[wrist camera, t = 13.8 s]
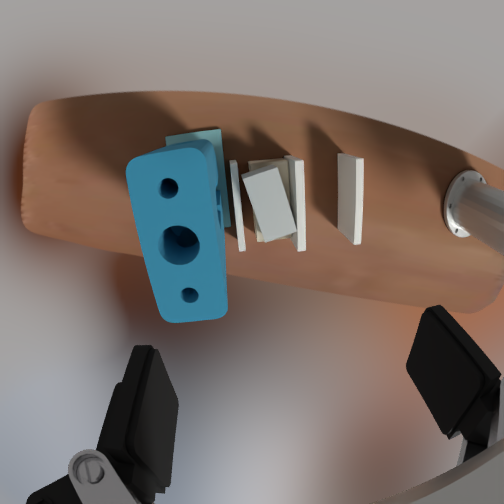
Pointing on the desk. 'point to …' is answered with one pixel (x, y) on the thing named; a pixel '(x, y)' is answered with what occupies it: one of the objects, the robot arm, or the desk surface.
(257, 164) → the block
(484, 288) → the desk surface
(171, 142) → the mat
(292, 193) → the rack
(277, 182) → the upper offcut
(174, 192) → the block
